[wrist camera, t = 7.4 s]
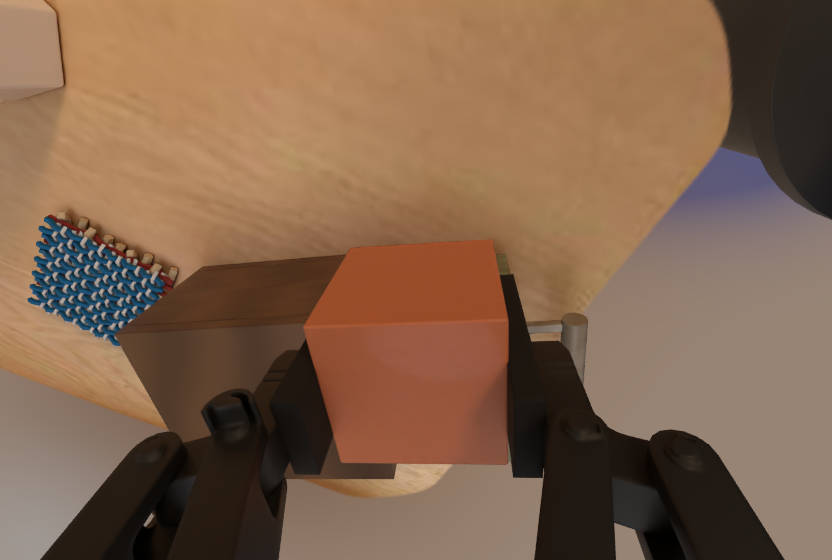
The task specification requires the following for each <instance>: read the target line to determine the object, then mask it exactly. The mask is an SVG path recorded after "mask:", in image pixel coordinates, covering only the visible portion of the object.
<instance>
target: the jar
mask: <svg viewBox="0 0 832 560" xmlns="http://www.w3.org/2000/svg"><path fill="white" fill-rule="evenodd" d="M63 85H64V79H63V70H62V61H61V52H60V42H59V33H58V24H57V15H56V12H55V11H54V9H52V8H51V7H50V6H49V5H48V4H47V3H46V2H45V1H44V0H0V102H8V101H16V100H19V99H22V98H26V97H29V96H32V95H36V94H39V93H43V92H46V91H49V90H53V89H56V88H60V87H62V86H63Z"/></svg>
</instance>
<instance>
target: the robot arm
mask: <svg viewBox="0 0 832 560" xmlns="http://www.w3.org/2000/svg"><path fill="white" fill-rule="evenodd" d="M500 280H501V285H502V290H503V295H504V300H505V305H506V310H507V315H508V320H509V361H508V363H507V406H508V442H509V449H510V457H511V464H512V472H513V477H516V478H518V477H519V478H543V468H544V479H543V488H542V497H541V506H540V514H539V523H538V533H537V542H536V550H535V559H534V560H616V554H615V553H616V551H615V531H614V523H617V524H620V525H623V526H626V527H629V528H632V529H635V531H636V534H637V537H638V540H639V542H640V545H641V548H642V551H643V554H644V557H645V560H784V558H783V557H782V555H781V553H780V552H779V550H778V549H777V547H776V546H775V544H774V542H773V541H772V539H771V538H770V536H769V534H768V533H767V531H766V530H765V528H764V527H763V525H762V523H761V522H760V520H759V519H758V517H757V516H756V514H755V512H754V511H753V509H752V508H751V506H750V504H749V503H748V501H747V500H746V498H745V497H744V495H743V494H742V492H741V490H740V489H739V487H738V486H737V484H736V482H735V481H734V479H733V478H732V476H731V475H730V473H729V471H728V470H727V468H726V467H725V465H724V463H723V462H722V460H721V459H720V457H719V455H718V454H717V453H716V452H715V451H714V450H713V449H712V448H711V446H710V445H709V444H707V443H706V442H704V441H703V440H701V439H699V438H698V437H696V436H694V435H691V434H689V433H686V432H684V431H677V430H663V431H659V432H657V433H656V434H654V435H652V437H651V439H650V441H648V440H643V439H640V438H635V437H631V436H627V435H624V434H621V433H618V432H616V431H614V430H612V429H610V428H609V427H607V425H606V424H605V423H604V421H603V420H602V419H601V418H600V417H598V416H597V415H595V413H594V411H593V409H592V407H591V404H590V402H589V399H588V397H587V394H586V392H585V389H584V387H583V384H582V381H581V379H580V376H579V375H578V371H577V369H576V366H575V365H574V361H573V359H572V356H571V354H570V351H569V350H568V349H567V348H566V347H565V346H564V345H563V344H561V343H560V342H559V341H537V342H531V339H530V335H529V332H528V328H527V324H526V321H525V317H524V313H523V309H522V306H521V302H520V298H519V294H518V291H517V287H516V283H515V279H514V276H513V274H506V275H500ZM201 414H202V416H203V418H204V420H205V422H206V424H207V427H208V429H209V431H210V433H211V435H210V436H207V437H204V438H200V439H196V440H192V441H188V442H185V443H183V442H182V440H181V438H180V436H179V435H177V434H176V433H174V432H163V433H158V434H155V435H153V436H151V437H148V438H146V439H145V440H143V441H142V442H140V443H139V444H138V445H136V446H135V447H134V448H133V449H132V450H131V451H130V452H129V453H128V454H127V456H126V457H125V458H124V459H123V461H121V463H120V464H119V465H118V466H117V468H116V469H115V470H114V471H113V472H112V474H111V475H110V476H109V477H108V478H107V480H106V481H105V482H104V483H103V484H102V486H101V487H100V488H99V489H98V491H97V492H96V493H95V494H94V495H93V497H92V498H91V499H90V500H89V501H88V503H87V504H86V505H85V506H84V507H83V509H82V510H81V511H80V512H79V513H78V515H77V516H76V517H75V518H74V519H73V521H72V522H71V523H70V524H69V526H68V527H67V528H66V529H65V530H64V532H63V533H62V534H61V535H60V536H59V538H58V539H57V540H56V541H55V542H54V544H53V545H52V546H51V548H49V550H48V551H47V552H46V554H45V555H44V556H43V557H42V558H41V559H40V560H278V558H279V551H280V543H281V535H282V526H283V518H284V509H285V502H286V493H287V482H286V478H285V476H284V473H285V471H286V469H287V467H288V464H289V462H290V463H291V466H292V469H293V471H294V474H295V475H320V473H321V470H322V467H323V464H324V461H325V459H326V456H327V453H328V450H329V447H330V444H331V441H332V438H333V432H332V428H331V424H330V421H329V417H328V414H327V410H326V407H325V403H324V400H323V396H322V393H321V389H320V386H319V382H318V379H317V375H316V372H315V368H314V365H313V362H312V358H311V354H310V351H309V347H308V344H307V340H306V339H305V341H304V343H303V344H302V346H301V348H300V350H286V351H285V352H283V353H282V354H281V355H280V356H279V357H277V358H276V359H275V360H274V362H273V363H272V365H271V366H270V368H269V370H268V373H266V374H265V376H264V377H263V379H262V382H260V384H259V385H258V387H257V388H256V390H255V392H254V393H253V394H252V393H251V392H250V391H249V390H246V389H242V388H241V389H232V390H228V391H225V392H222V393H221V394H219V395H217V396H215V397H213V398H212V399H211V400H210V401H209V402H208V403H206V404H205V406H204V407H203V409H202V410H201ZM151 513H152V514H153V516H154V517H153V519H152V521H151V522H150V523H149V524H148V525H147V526H146V527H144V526H143V525H144V523H145V522H146V520H147V519H148V517H149V516H150V514H151Z"/></svg>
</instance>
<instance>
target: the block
mask: <svg viewBox="0 0 832 560" xmlns="http://www.w3.org/2000/svg"><path fill="white" fill-rule="evenodd" d="M303 330H304V333H305V337H306V340H307V344H308V347H309V351H310V354H311V358H312V362H313V365H314V368H315V372H316V375H317V379H318V382H319V386H320V389H321V393H322V396H323V400H324V403H325V407H326V410H327V414H328V417H329V421H330V424H331V428H332V432H333V436H334V440H335V443H336V447H337V450H338V454H339V457H340V461H341V462H342V463H400V464H486V465H487V464H490V465H493V464H494V465H506V464H508V406H507V363H508V361H509V320H508V315H507V310H506V305H505V300H504V295H503V290H502V285H501V280H500V275H499V270H498V265H497V260H496V255H495V250H494V245H493V241H492V240H491V239H488V240H472V241H455V242H439V243H423V244H407V245H391V246H374V247H358V248H351V249H350V250H349V252H348V253H347V255H346V257H345V258H344V260H343V262H342V263H341V265H340V266H339V268H338V270H337V271H336V273H335V275H334V276H333V278H332V280H331V281H330V283H329V285H328V286H327V288H326V290H325V291H324V293H323V295H322V296H321V298H320V300H319V301H318V303H317V304H316V306H315V308H314V309H313V311H312V313H311V314H310V316H309V318H308V319H307V321H306V323H305V324H304V326H303Z"/></svg>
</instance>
